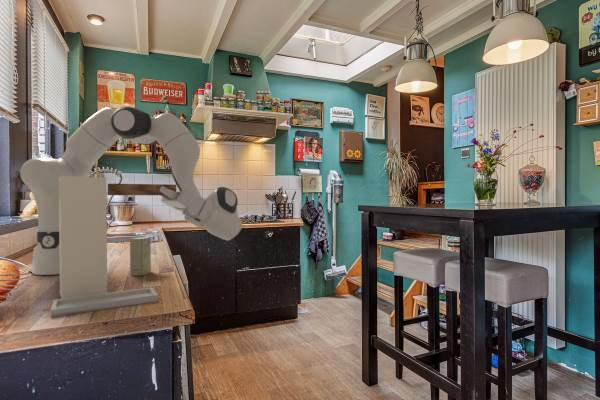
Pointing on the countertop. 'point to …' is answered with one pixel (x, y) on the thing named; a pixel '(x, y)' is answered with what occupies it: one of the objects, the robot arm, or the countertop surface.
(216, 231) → the robot arm
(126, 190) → the walnut bar
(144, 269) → the skincare box
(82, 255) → the tall cream pillar
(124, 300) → the tray
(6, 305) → the countertop surface
